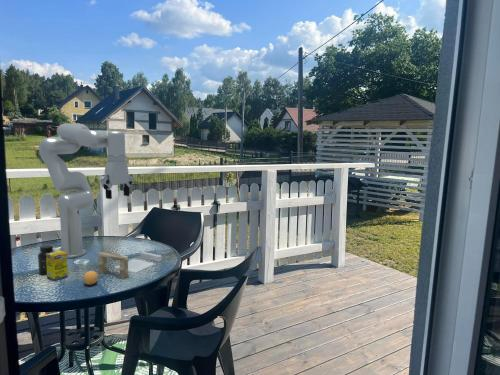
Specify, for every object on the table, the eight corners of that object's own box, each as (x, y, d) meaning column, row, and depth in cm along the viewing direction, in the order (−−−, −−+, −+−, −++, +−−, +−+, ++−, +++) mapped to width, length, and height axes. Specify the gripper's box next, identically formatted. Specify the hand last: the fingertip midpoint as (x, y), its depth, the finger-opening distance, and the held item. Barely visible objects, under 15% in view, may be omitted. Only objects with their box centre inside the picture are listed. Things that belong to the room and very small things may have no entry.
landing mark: (135, 272, 167) (135, 272, 167) (114, 267, 173) (114, 267, 173) (155, 264, 178) (155, 263, 178) (134, 259, 184) (134, 259, 184)
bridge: (123, 279, 160) (122, 258, 158) (99, 272, 166) (98, 252, 165) (128, 276, 162) (128, 256, 161) (104, 270, 169) (103, 250, 167)
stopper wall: (159, 261, 182) (159, 256, 181) (140, 257, 187) (140, 252, 187) (161, 260, 184) (161, 255, 183) (143, 256, 189) (143, 251, 188)
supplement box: (54, 281, 155) (53, 256, 154) (46, 278, 158) (45, 253, 157) (68, 277, 160) (67, 252, 159) (60, 273, 163) (59, 249, 162)
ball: (82, 287, 150) (82, 274, 149) (84, 282, 155) (83, 269, 154) (97, 286, 152) (97, 273, 151) (98, 281, 157) (98, 268, 156)
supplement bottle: (35, 275, 161) (33, 248, 159) (45, 269, 168) (43, 243, 166) (50, 276, 161) (49, 249, 159) (59, 270, 167) (58, 244, 166)
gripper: (126, 158, 175) (127, 194, 177) (94, 159, 160) (95, 198, 163) (137, 158, 171) (138, 195, 173) (105, 160, 156) (107, 200, 159)
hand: (117, 197), depth 168 cm, fingers open, 9 cm apart
